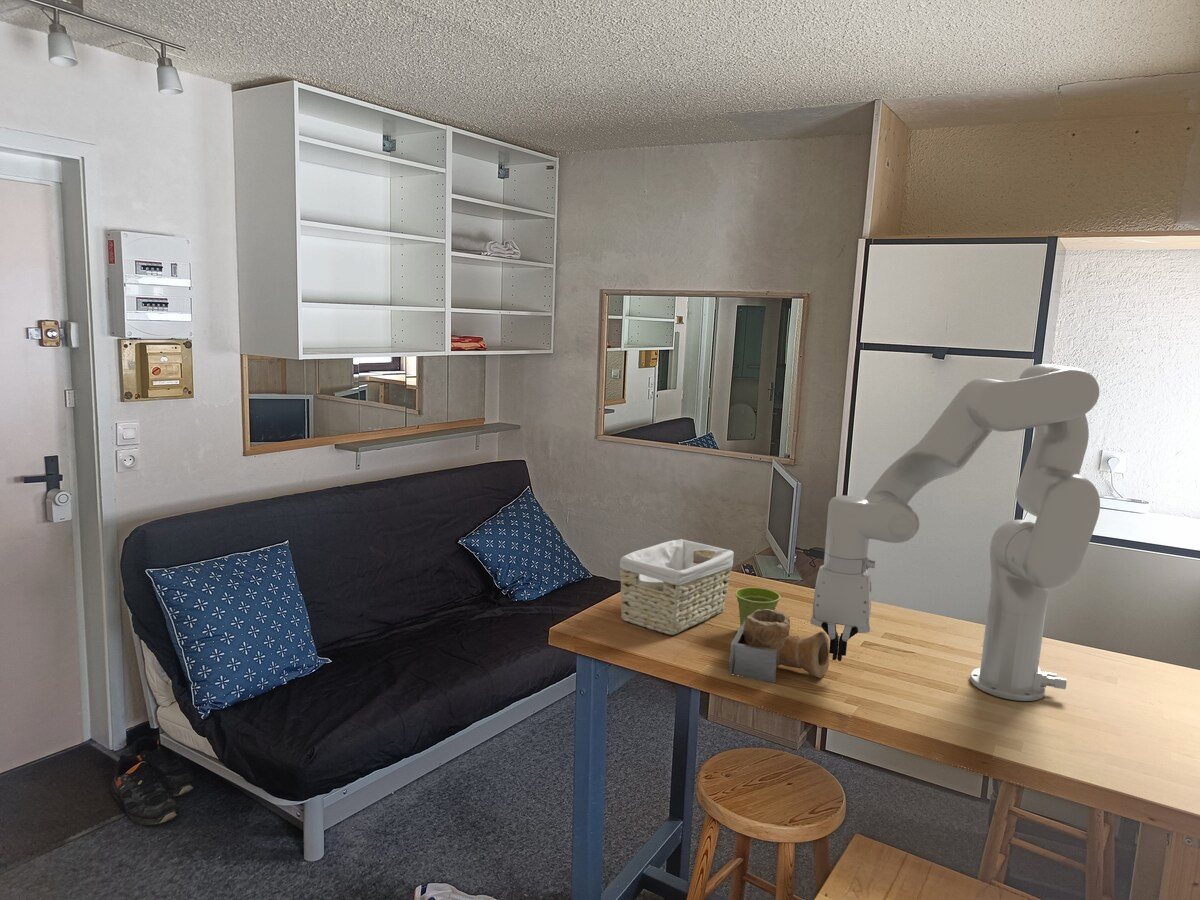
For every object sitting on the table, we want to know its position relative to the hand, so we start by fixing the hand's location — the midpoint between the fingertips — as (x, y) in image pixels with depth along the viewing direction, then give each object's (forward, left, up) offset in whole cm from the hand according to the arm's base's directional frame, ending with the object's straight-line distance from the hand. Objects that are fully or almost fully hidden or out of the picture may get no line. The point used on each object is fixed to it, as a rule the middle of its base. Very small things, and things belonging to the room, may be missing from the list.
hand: (837, 657), depth 155 cm
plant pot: (+18, -16, -4) cm, 24 cm away
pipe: (+10, 0, -4) cm, 11 cm away
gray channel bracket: (+15, 0, -4) cm, 15 cm away
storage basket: (+36, -18, -4) cm, 41 cm away
